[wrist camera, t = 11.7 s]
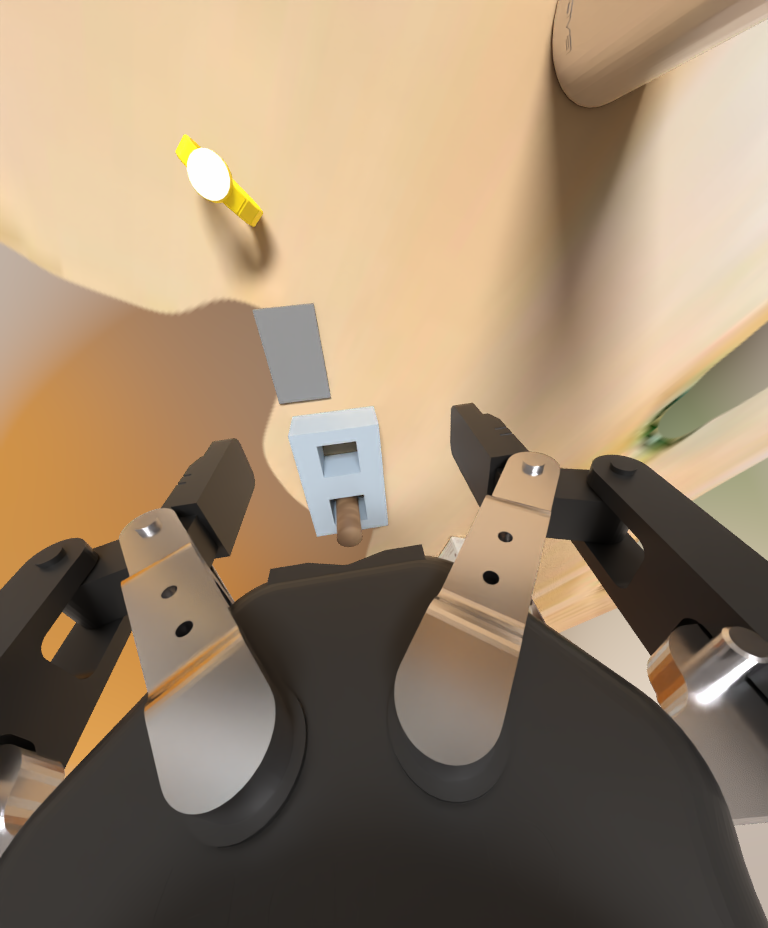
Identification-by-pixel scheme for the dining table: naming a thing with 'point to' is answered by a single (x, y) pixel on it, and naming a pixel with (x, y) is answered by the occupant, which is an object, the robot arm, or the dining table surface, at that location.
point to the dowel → (348, 521)
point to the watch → (216, 180)
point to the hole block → (340, 465)
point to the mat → (293, 352)
